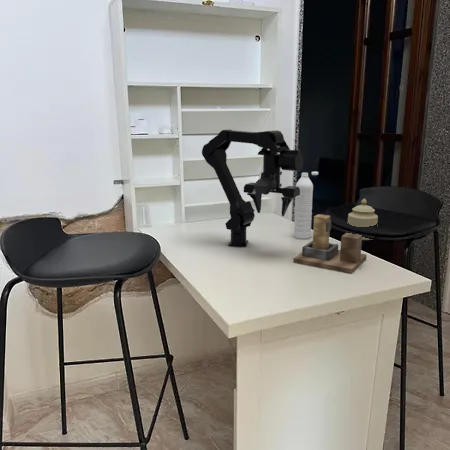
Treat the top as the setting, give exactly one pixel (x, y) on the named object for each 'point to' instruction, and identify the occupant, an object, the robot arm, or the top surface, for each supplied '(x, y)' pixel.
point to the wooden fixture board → (334, 255)
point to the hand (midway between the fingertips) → (270, 214)
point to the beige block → (321, 232)
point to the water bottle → (303, 207)
